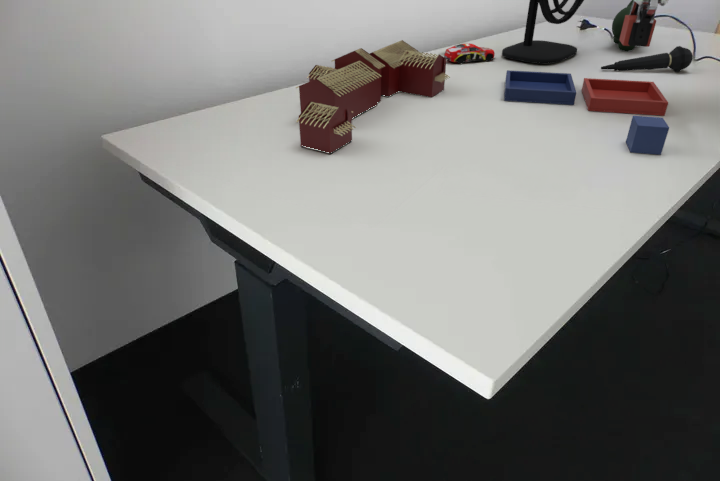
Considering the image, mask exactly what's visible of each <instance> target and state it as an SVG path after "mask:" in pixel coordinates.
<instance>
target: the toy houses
mask: <svg viewBox="0 0 720 481" xmlns="http://www.w3.org/2000/svg"><path fill="white" fill-rule="evenodd" d="M330 61H331V62H334V67H331V66H325V65H321V64H315V65H314V66H313V68H311V70H310V71H309V73H308V76H307V77H306V79H308V81H307V82H305V83H303V84H300V85H298V86H295V89H298V92H299V106H300V113H299V115H298V119H297V120H296V123H298V128H299V140H300V146H301V145H303V146H306V147H310V148H314V149H318V150H321V151H325V152H329V153H331V152H333V151H335V150H336V149H338V148H340V147H341V146H343V145H345V144H346V143H348V142H350V141H351V140H352V141H353V130H354V129H356V128H357V127H356V125H354V124H353V122H352V121H353V119H352V118H353V117H355V116H357V115H358V114H360V113H362V112H364V111H366V110H368V109H369V108H371V107H373V106H375V105H377V106H378V103H377V102H379V101H381V102H382V96H381V95H385V96H390V95H392V94H394V93H395V94H397V93H399V92H398V91H402V92H401V93H404V92H406V93H405V94H410V93H411V94H410V95H415V94H416V96H421V95H422V96H421V97H427V96H428V98H434V97H435V96H436V95H439V94H440V93H441V92H443V91H444V90H445V81H447V80H448V79H449V78H451V76H450V75H449V74H446V71H447V70H446V69H447V67H446V66H447V61H448V60H447V59H446V58H444V56H442V55H441V54H440V53H439V54H436V53H434V54H433V53H431V52H430V53H429V52H423V51H422V52H420V51H419V50H418V49H416V48H415V47H413V46H412V45H410V44H409V43H408V42H406V41H405V40H403V39H401V40H399V41H396V42H394V43H391V44H389V45H386V46H384V47H382V48H379V49H377V50H374V51H372V52H370V53H369V52H368V51H366V50H365V49H363V48H362V47H360V48H358V49H355V50H353V51H350V52H348V53H346V54H344V55H342V56H338V57H337V58H334V59H333V60H330ZM442 90H443V91H442ZM396 92H397V93H396ZM439 92H440V93H439ZM395 94H394V95H395ZM385 96H384V97H385ZM392 96H393V95H392ZM390 97H391V96H390ZM379 103H380V102H379ZM350 143H351V142H350ZM348 144H349V143H348ZM345 146H346V145H345ZM343 147H344V146H343ZM340 149H341V148H340ZM335 152H336V151H335Z"/></svg>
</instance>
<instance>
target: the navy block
mask: <svg viewBox="0 0 720 481" xmlns="http://www.w3.org/2000/svg"><path fill="white" fill-rule="evenodd" d="M669 130H670V126H669V125H668V123H667V121H666V120H665V119H664V117H660V116H659V117H657V116H645V115H632V117H631V121H630V124H629V128H628V132H627V135H626V139H625V144H626V145H627V146H626V147H627V148H628V150H629V153H634V154H646V155H657V156H659V155H660V156H661V155H662V154H663V150H664V146H665V143H666V140H667V137H668V133H669Z"/></svg>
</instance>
